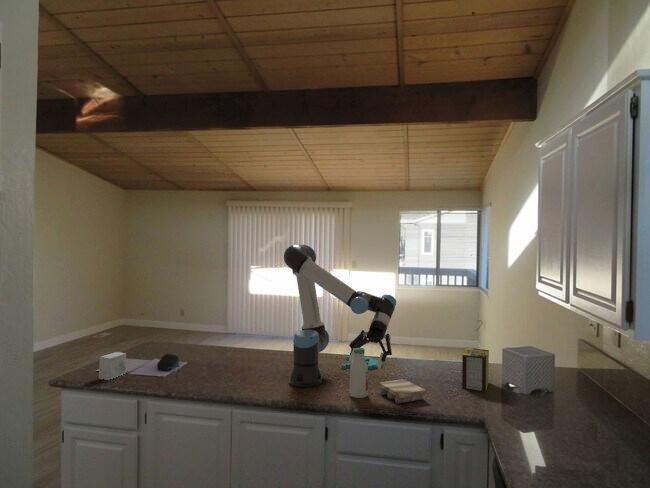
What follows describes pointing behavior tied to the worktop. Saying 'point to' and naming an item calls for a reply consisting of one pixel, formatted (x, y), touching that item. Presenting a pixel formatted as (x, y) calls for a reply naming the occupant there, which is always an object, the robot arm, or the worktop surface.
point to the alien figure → (370, 362)
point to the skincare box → (112, 365)
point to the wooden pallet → (402, 391)
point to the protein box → (475, 369)
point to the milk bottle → (359, 375)
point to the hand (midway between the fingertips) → (363, 365)
